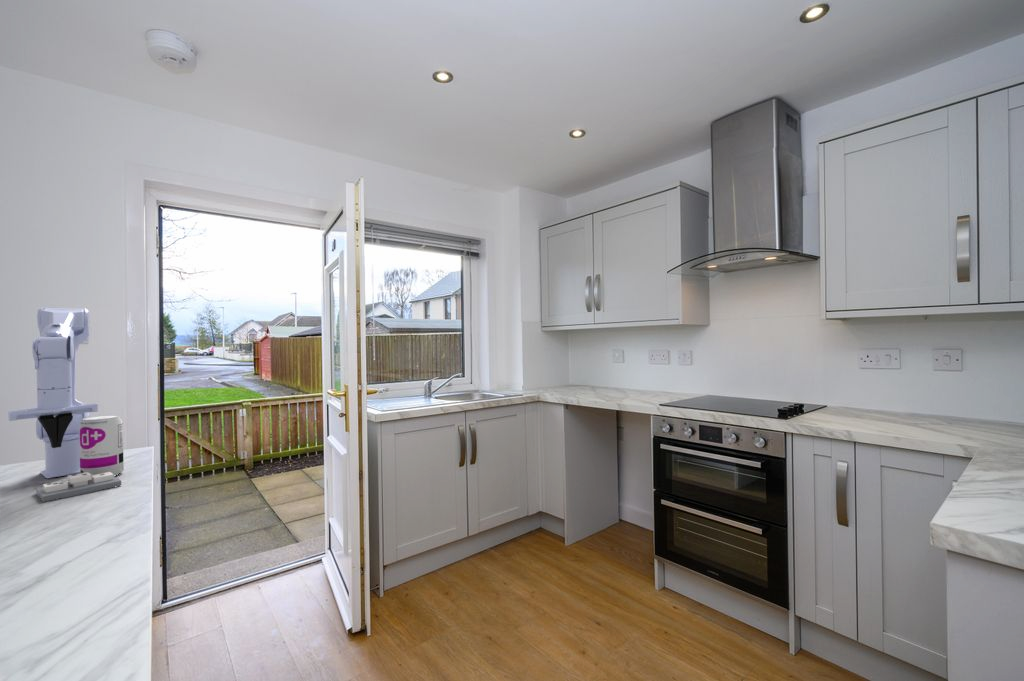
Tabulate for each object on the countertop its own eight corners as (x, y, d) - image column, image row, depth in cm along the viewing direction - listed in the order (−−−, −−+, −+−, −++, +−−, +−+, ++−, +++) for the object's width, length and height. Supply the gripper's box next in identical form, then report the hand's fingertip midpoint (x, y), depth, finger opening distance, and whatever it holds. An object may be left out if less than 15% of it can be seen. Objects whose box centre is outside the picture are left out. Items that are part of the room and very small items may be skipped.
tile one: (90, 485, 109) (90, 474, 109) (110, 481, 112) (109, 471, 112) (94, 488, 107) (94, 477, 107) (113, 484, 110) (113, 473, 110)
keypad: (36, 493, 104) (36, 488, 104) (110, 478, 114) (110, 474, 114) (43, 502, 98) (43, 496, 98) (121, 485, 109) (121, 480, 109)
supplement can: (103, 481, 112) (102, 420, 112) (70, 481, 113) (69, 420, 112) (132, 471, 121) (130, 414, 120) (101, 471, 121) (99, 414, 121)
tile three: (43, 495, 103) (42, 483, 103) (64, 490, 105) (64, 479, 105) (46, 498, 101) (45, 486, 101) (68, 493, 103) (67, 482, 103)
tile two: (67, 485, 106) (67, 475, 106) (87, 482, 109) (87, 471, 109) (70, 488, 104) (70, 477, 104) (91, 484, 107) (91, 473, 107)
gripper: (11, 393, 98) (12, 456, 98) (100, 386, 110) (101, 443, 110) (6, 390, 102) (8, 451, 102) (93, 384, 114) (94, 439, 114)
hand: (56, 447), depth 106 cm, fingers closed
